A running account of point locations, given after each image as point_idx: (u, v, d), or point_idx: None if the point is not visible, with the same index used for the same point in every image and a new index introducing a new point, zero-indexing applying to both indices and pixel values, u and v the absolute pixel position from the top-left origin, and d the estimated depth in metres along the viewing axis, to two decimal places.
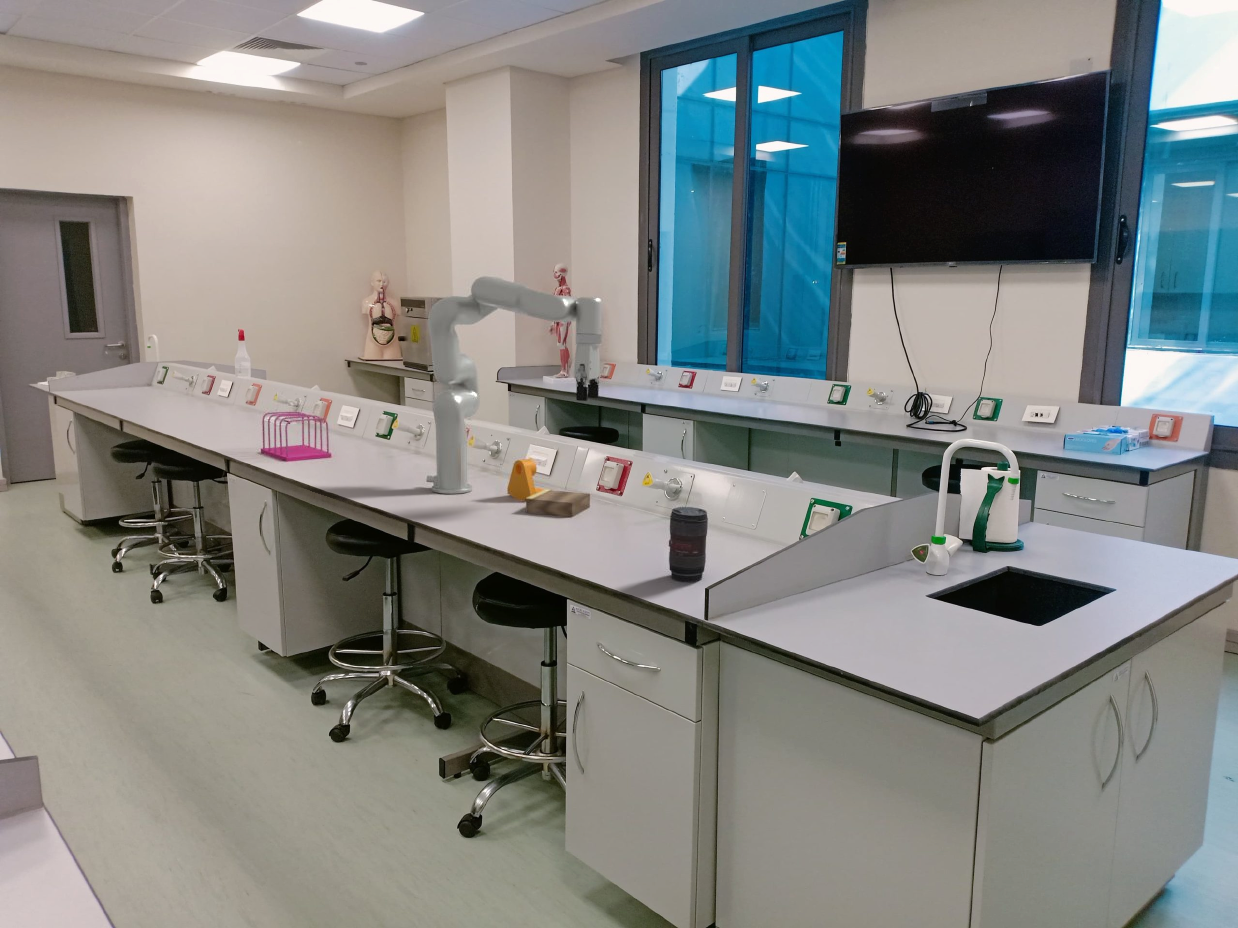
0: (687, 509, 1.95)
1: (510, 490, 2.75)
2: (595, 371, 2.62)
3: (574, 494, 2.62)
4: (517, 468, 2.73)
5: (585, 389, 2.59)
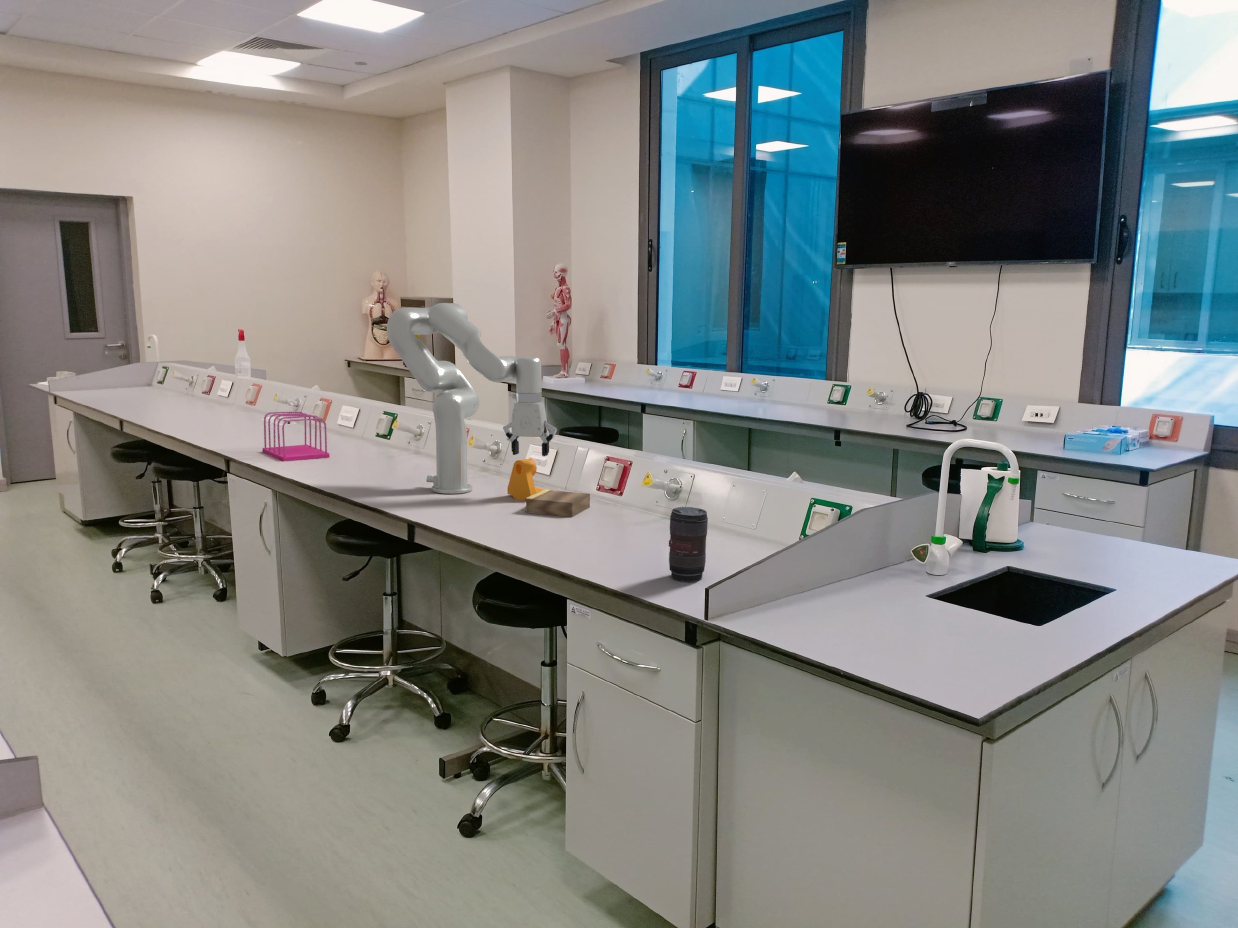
0: (687, 509, 1.95)
1: (510, 490, 2.75)
2: None
3: (574, 494, 2.62)
4: (517, 468, 2.73)
5: None
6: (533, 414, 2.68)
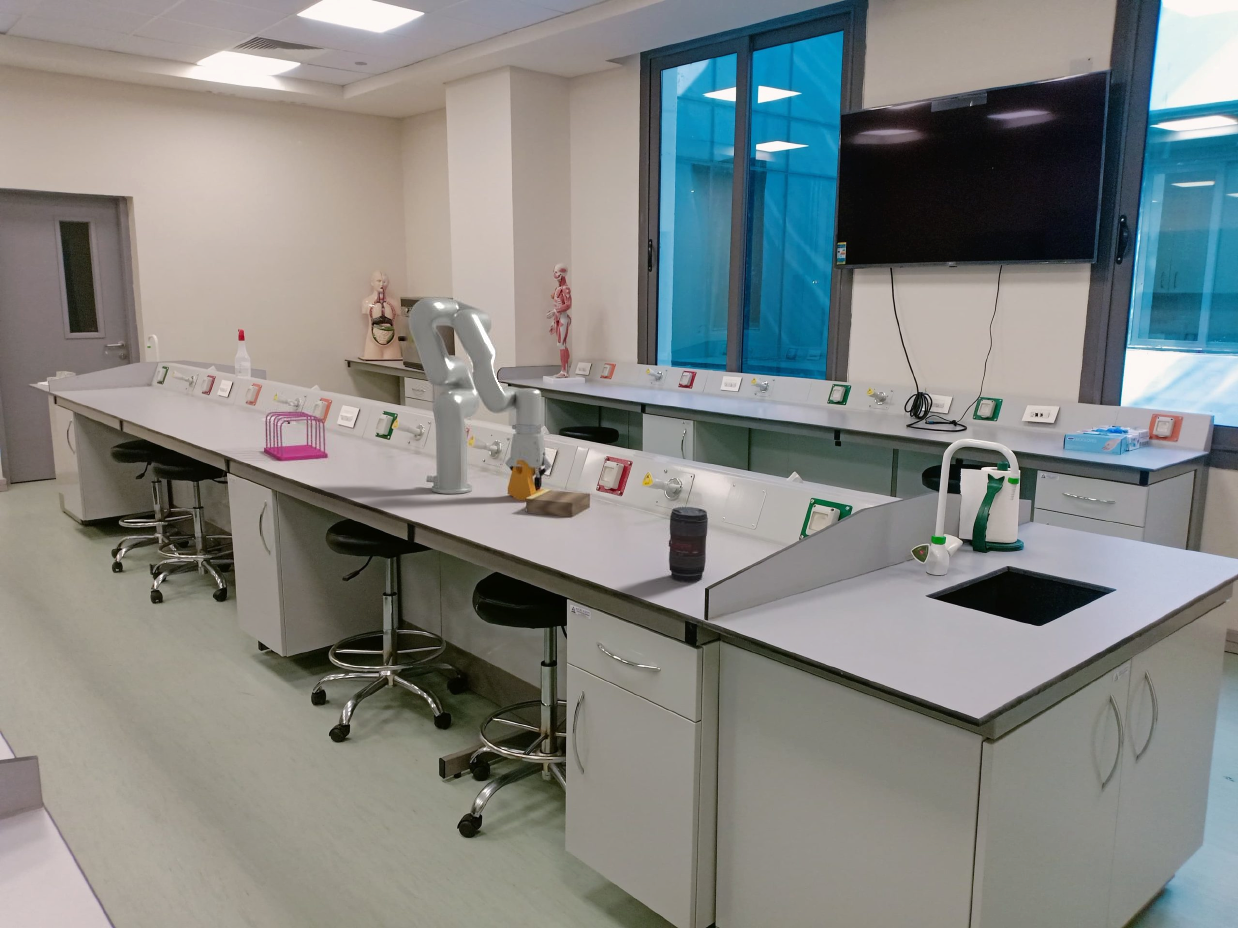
0: (687, 509, 1.95)
1: (510, 490, 2.75)
2: None
3: (574, 494, 2.62)
4: (517, 468, 2.73)
5: None
6: (532, 446, 2.69)
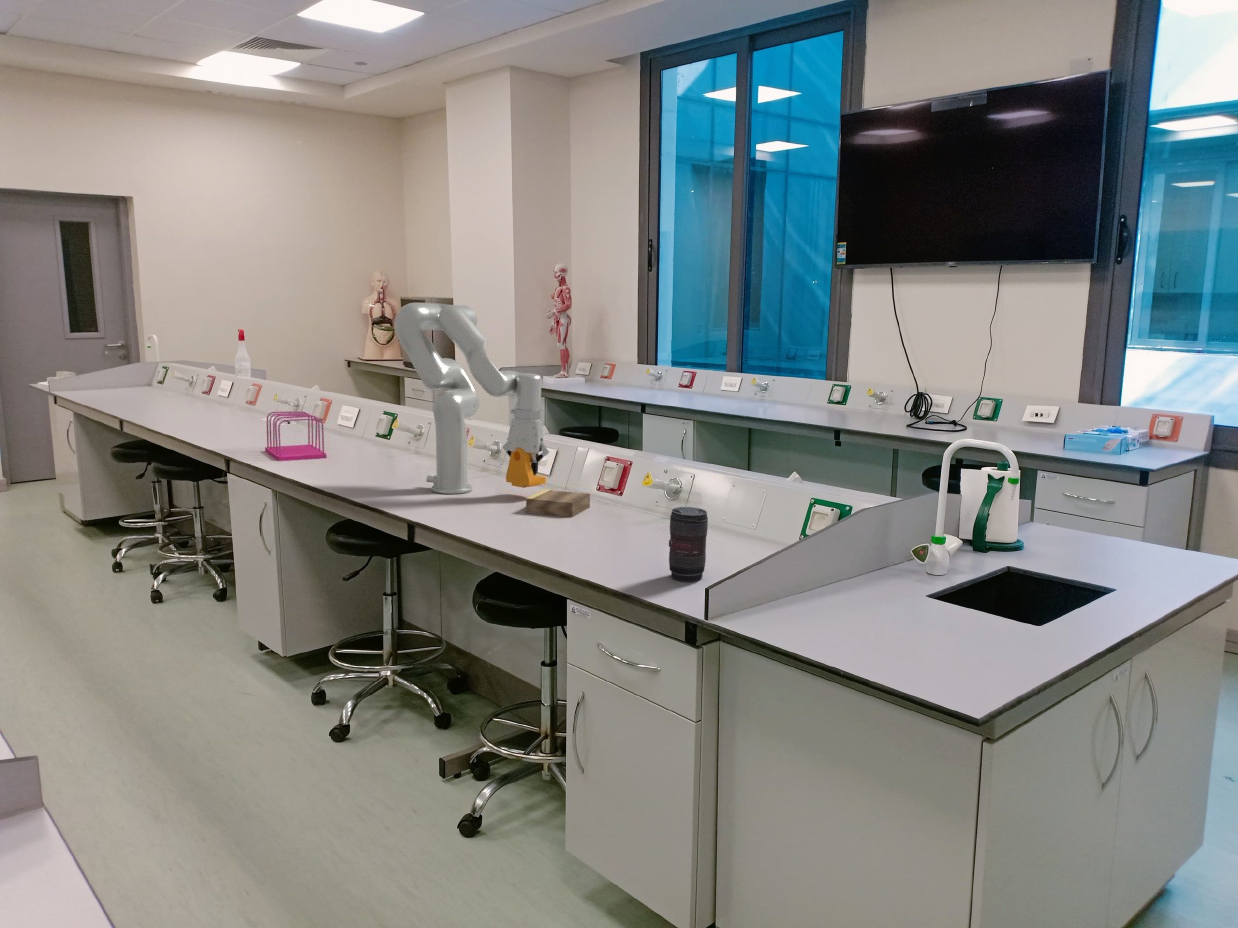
0: (687, 509, 1.95)
1: (509, 478, 2.75)
2: None
3: (574, 494, 2.62)
4: (515, 455, 2.73)
5: None
6: (530, 431, 2.69)
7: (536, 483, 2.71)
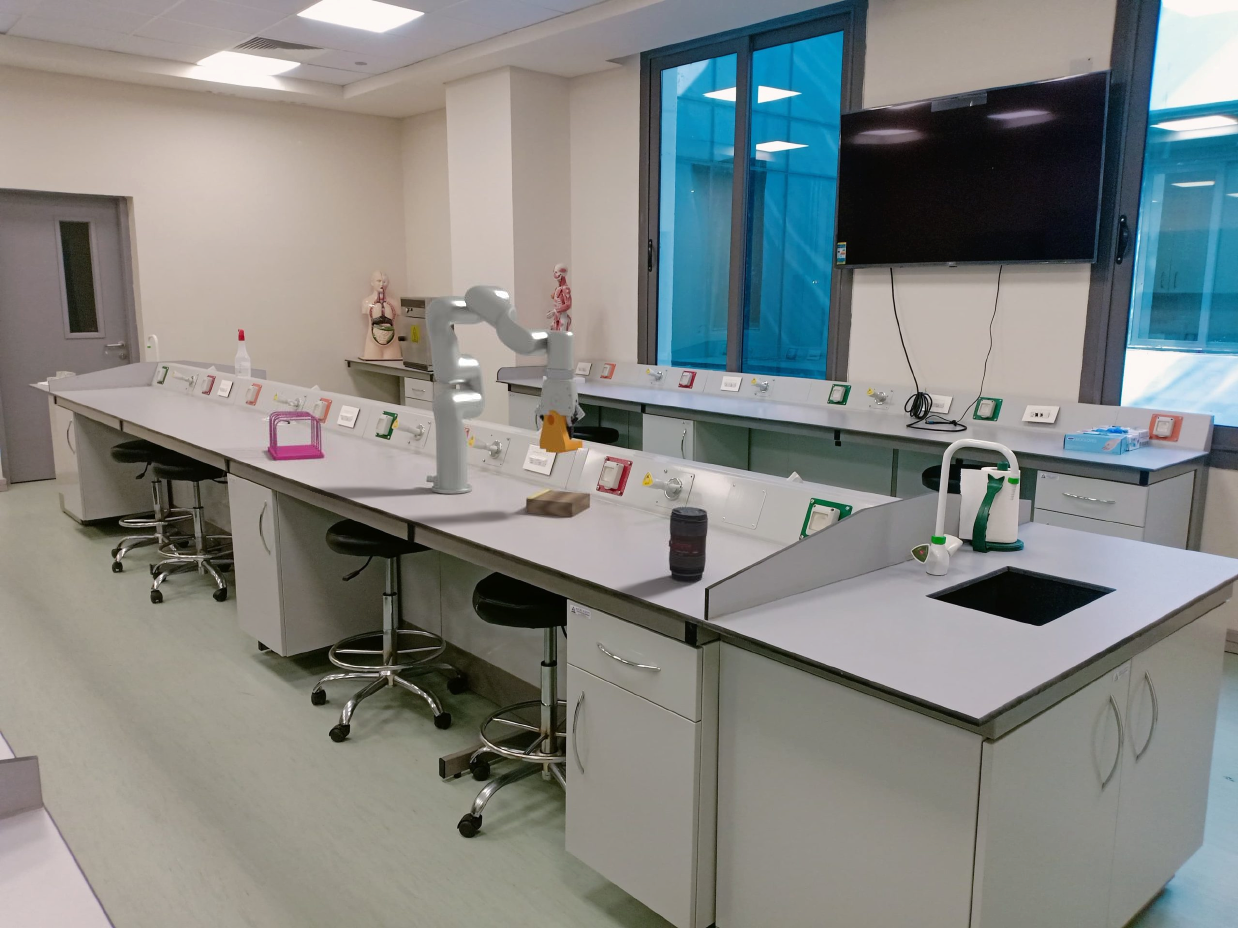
0: (687, 509, 1.95)
1: (542, 444, 2.57)
2: None
3: (574, 494, 2.62)
4: (548, 419, 2.54)
5: None
6: (564, 392, 2.50)
7: (573, 447, 2.52)
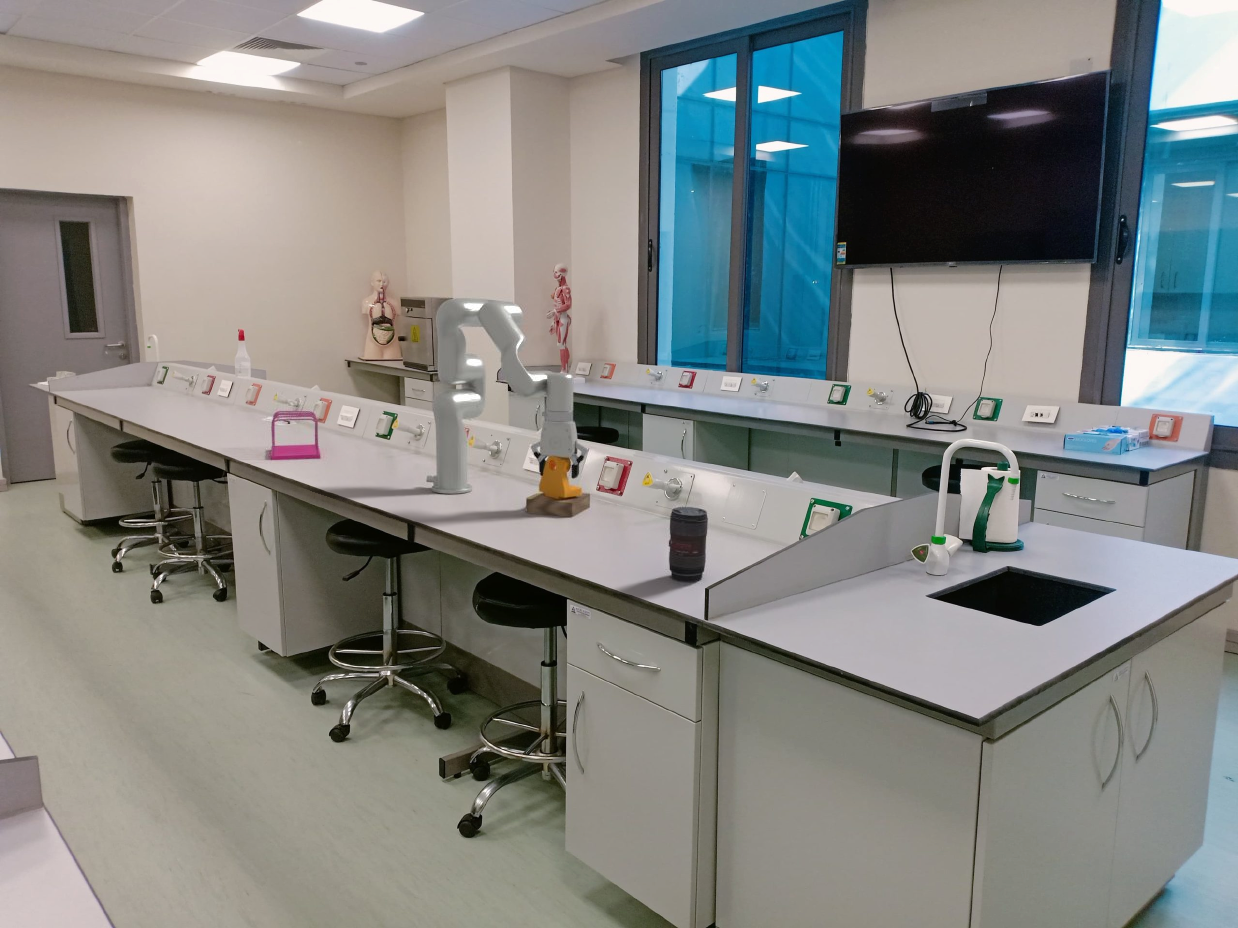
0: (687, 509, 1.95)
1: (542, 487, 2.59)
2: None
3: None
4: (550, 464, 2.56)
5: None
6: (564, 434, 2.52)
7: (572, 495, 2.55)
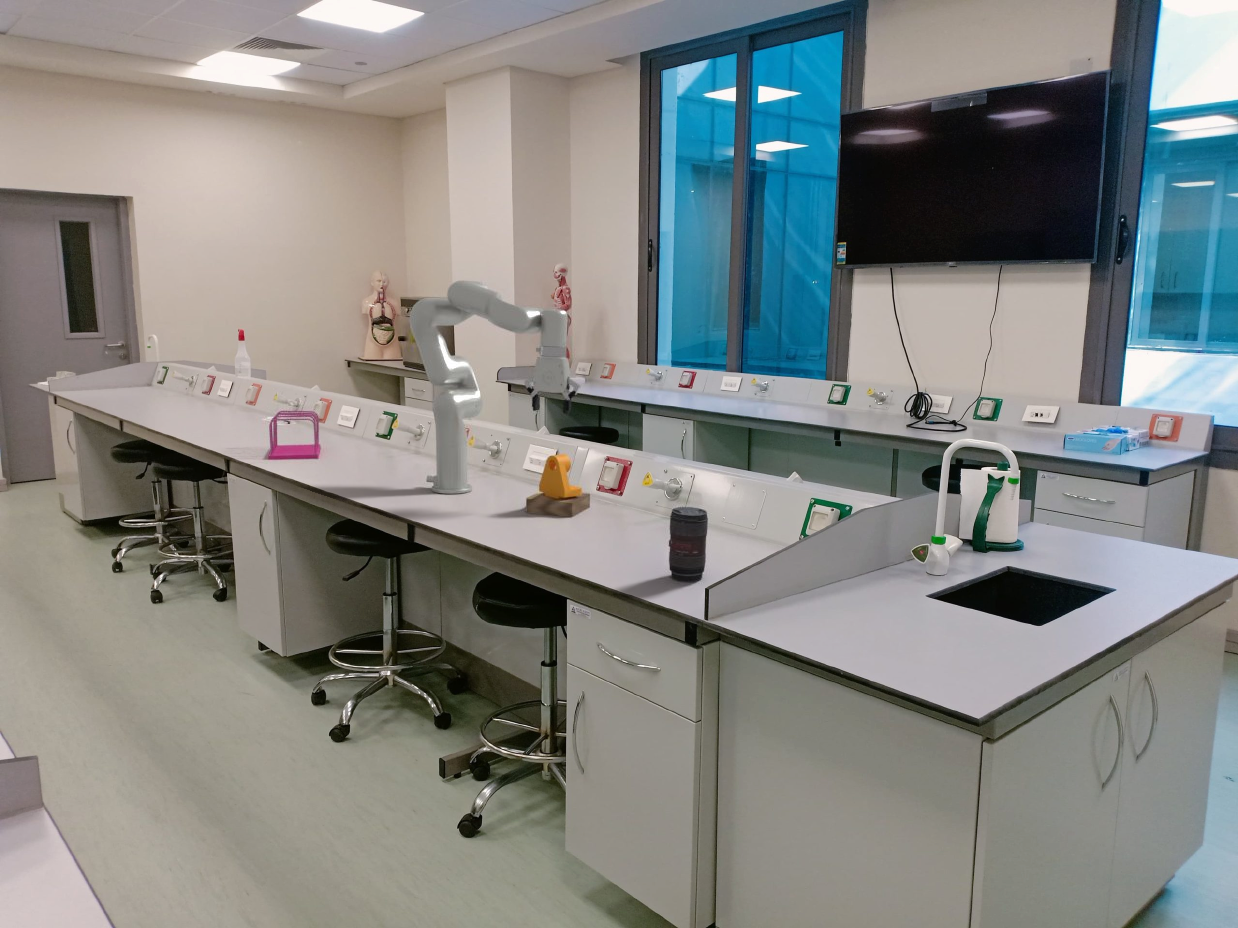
0: (687, 509, 1.95)
1: (542, 487, 2.59)
2: None
3: None
4: (550, 464, 2.56)
5: None
6: (556, 369, 2.57)
7: (572, 495, 2.55)
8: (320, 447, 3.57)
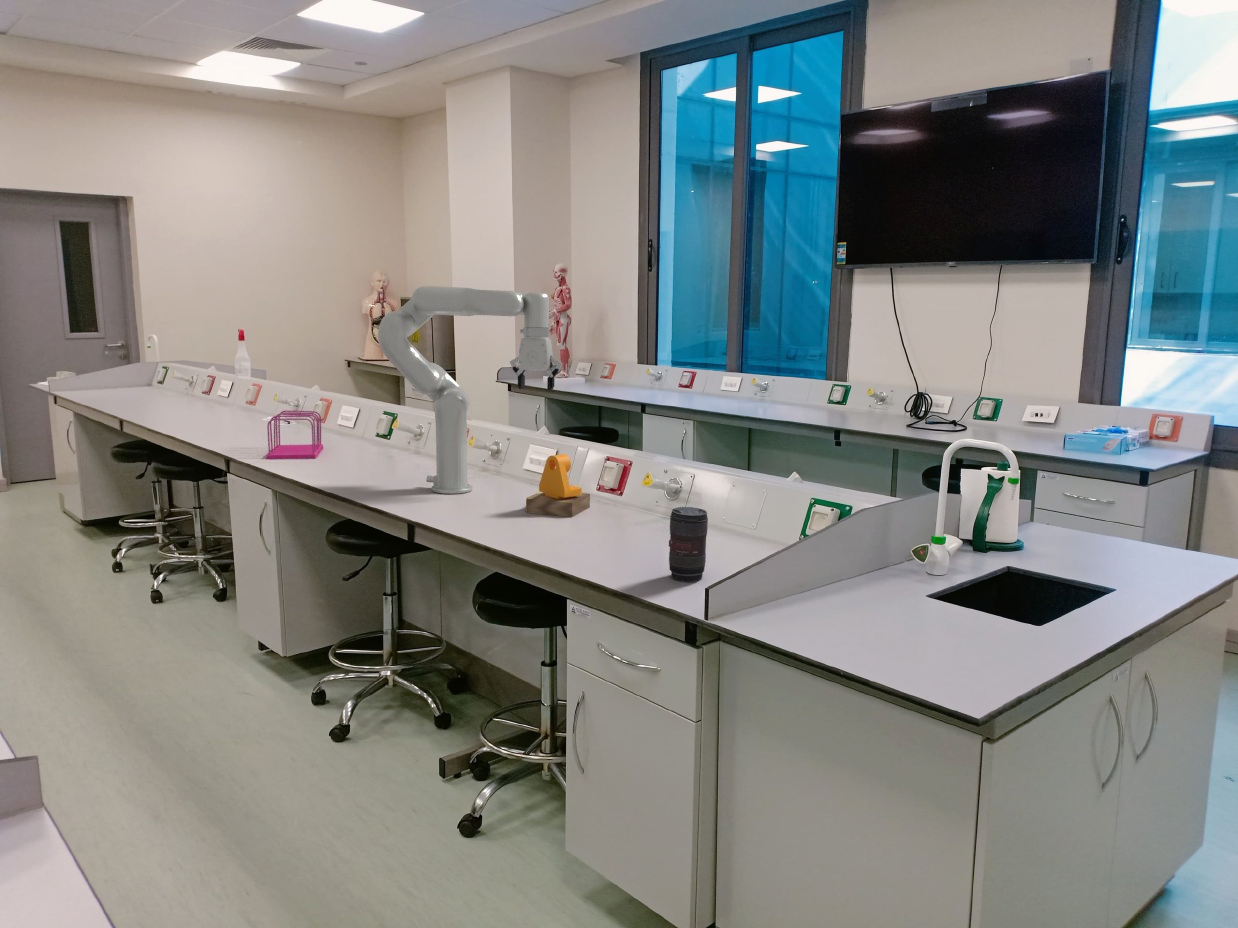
0: (687, 509, 1.95)
1: (542, 487, 2.59)
2: None
3: None
4: (550, 464, 2.56)
5: None
6: (540, 348, 2.75)
7: (572, 495, 2.55)
8: (322, 447, 3.57)
